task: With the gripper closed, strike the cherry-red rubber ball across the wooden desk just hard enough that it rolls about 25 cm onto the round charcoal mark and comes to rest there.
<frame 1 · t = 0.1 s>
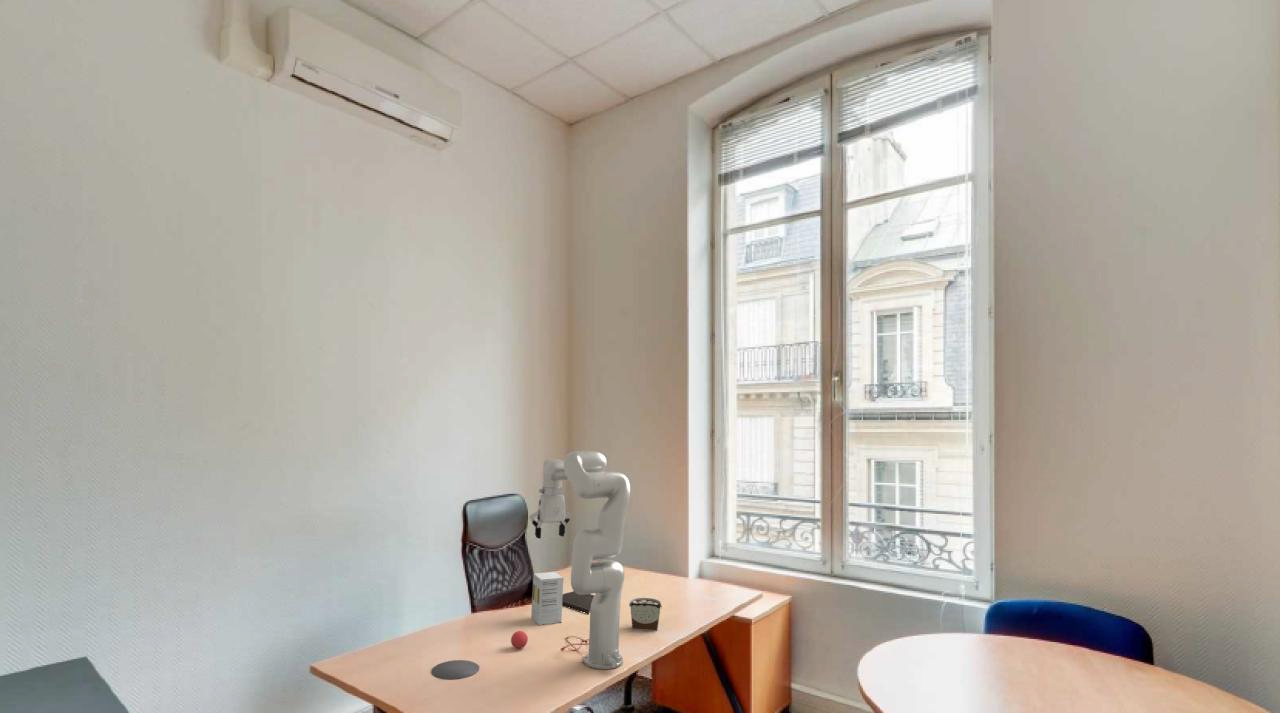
hand: (549, 536, 246), 31 cm above the table, tool pointing down, fingers open, 9 cm apart
supplement box: (546, 621, 243), on the table
hardcover book: (582, 605, 266), on the table
food container: (645, 627, 240), on the table
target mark: (455, 669, 196), on the table
ball: (519, 639, 215), on the table
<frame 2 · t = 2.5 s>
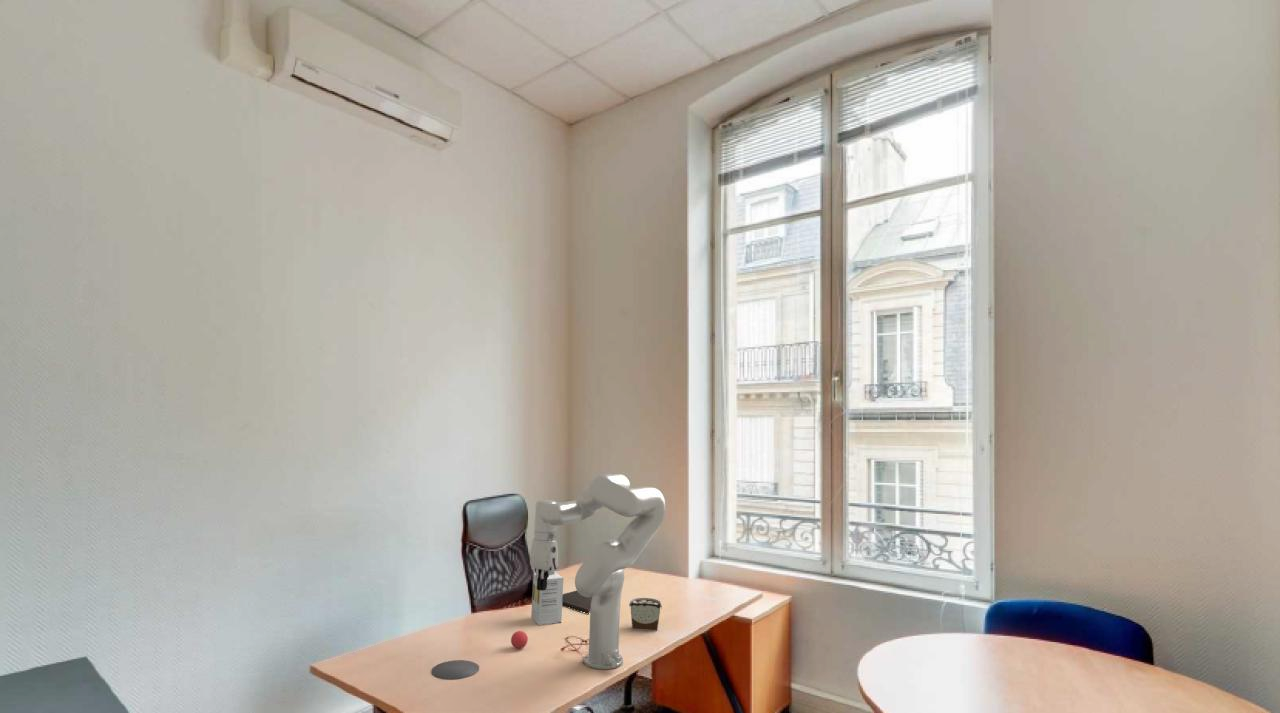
hand: (541, 589, 224), 17 cm above the table, tool pointing down, fingers closed
nothing on the table moved.
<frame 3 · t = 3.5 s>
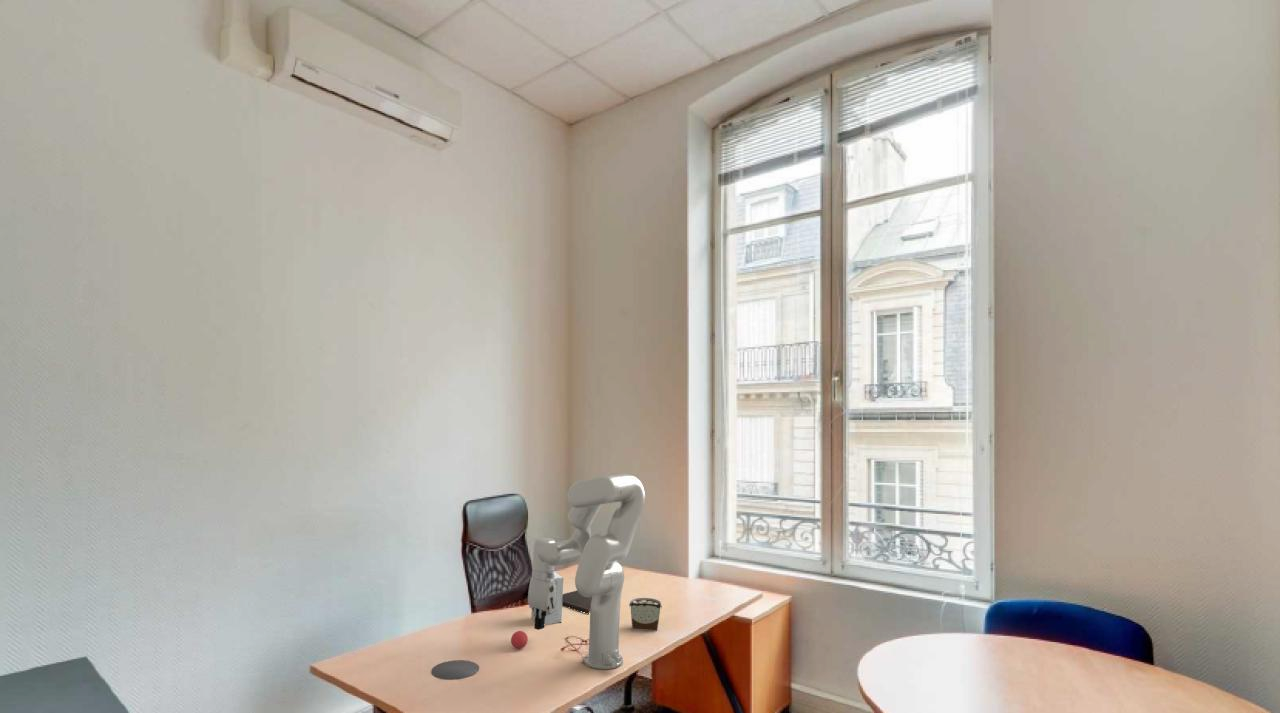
hand: (539, 628, 223), 4 cm above the table, tool pointing down, fingers closed
nothing on the table moved.
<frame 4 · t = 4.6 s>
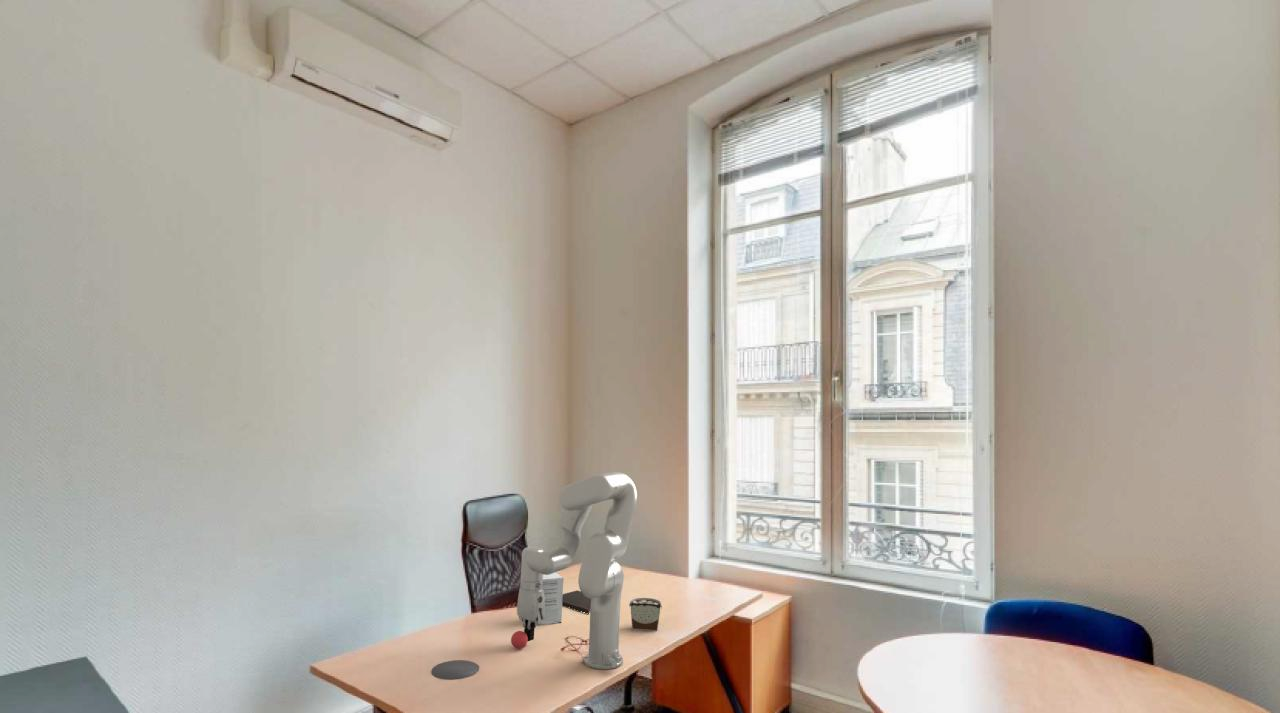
hand: (528, 639, 218), 2 cm above the table, tool pointing down, fingers closed
ball: (519, 639, 215), on the table, touching gripper
everything else where it was.
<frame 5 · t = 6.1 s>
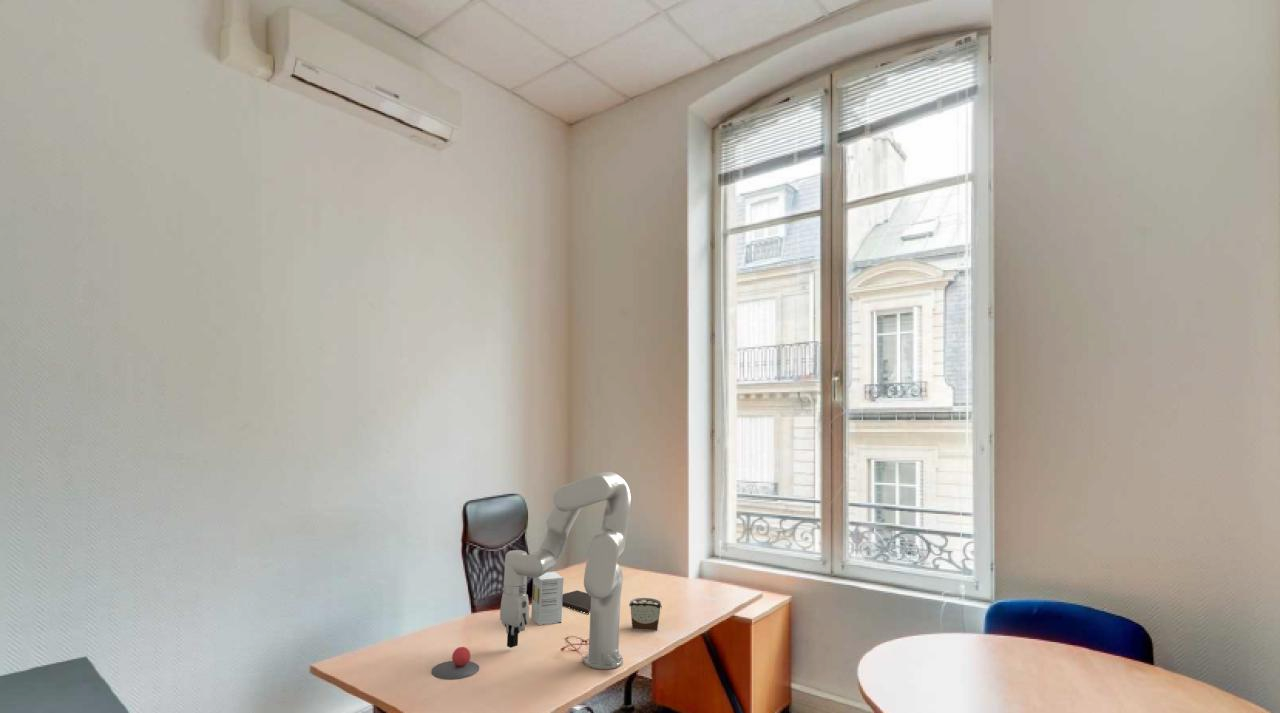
hand: (512, 646, 212), 2 cm above the table, tool pointing down, fingers closed
ball: (461, 656, 199), on the table
everything else where it was.
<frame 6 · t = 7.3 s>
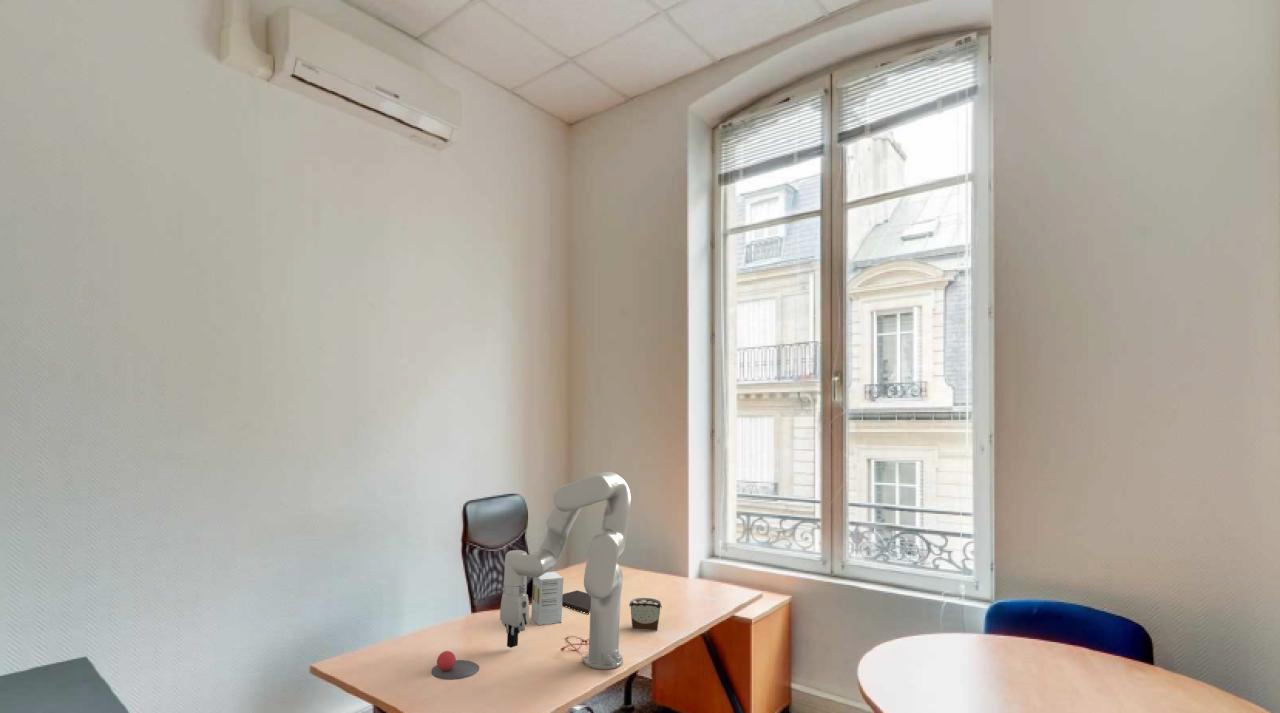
hand: (512, 646, 212), 2 cm above the table, tool pointing down, fingers closed
ball: (446, 660, 195), on the table
everything else where it was.
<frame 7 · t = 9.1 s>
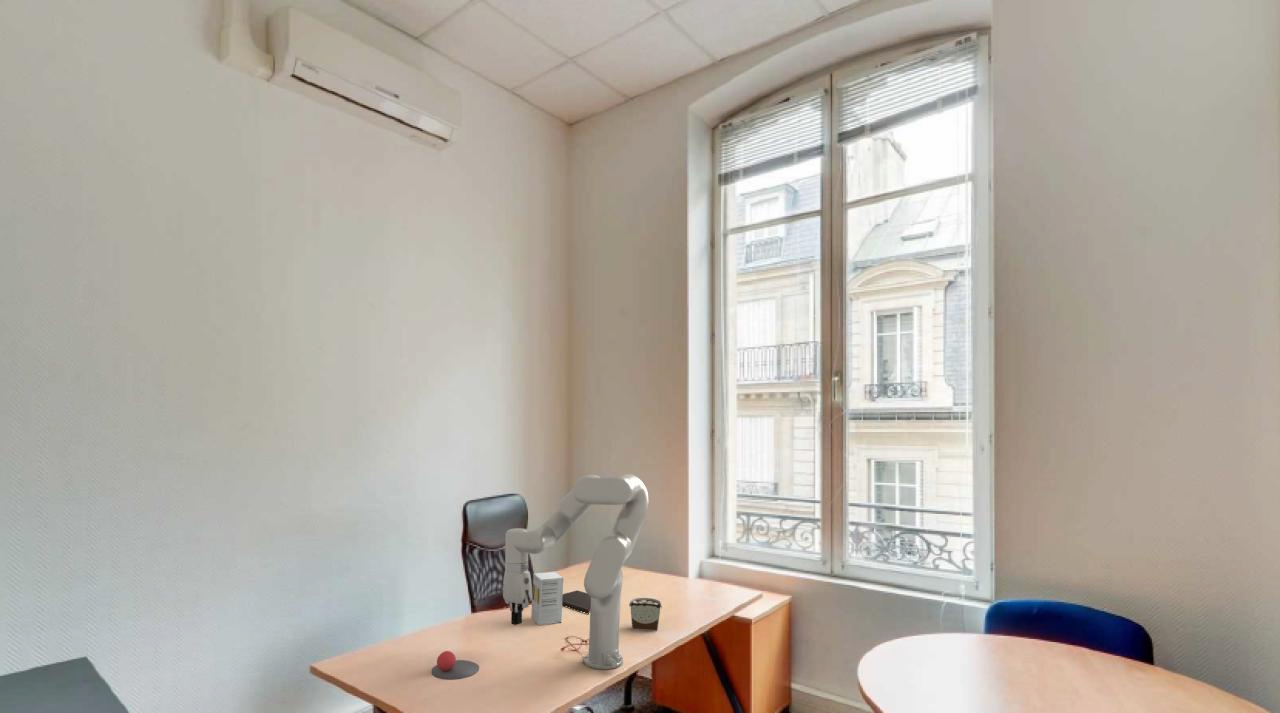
hand: (516, 623, 213), 9 cm above the table, tool pointing down, fingers closed
nothing on the table moved.
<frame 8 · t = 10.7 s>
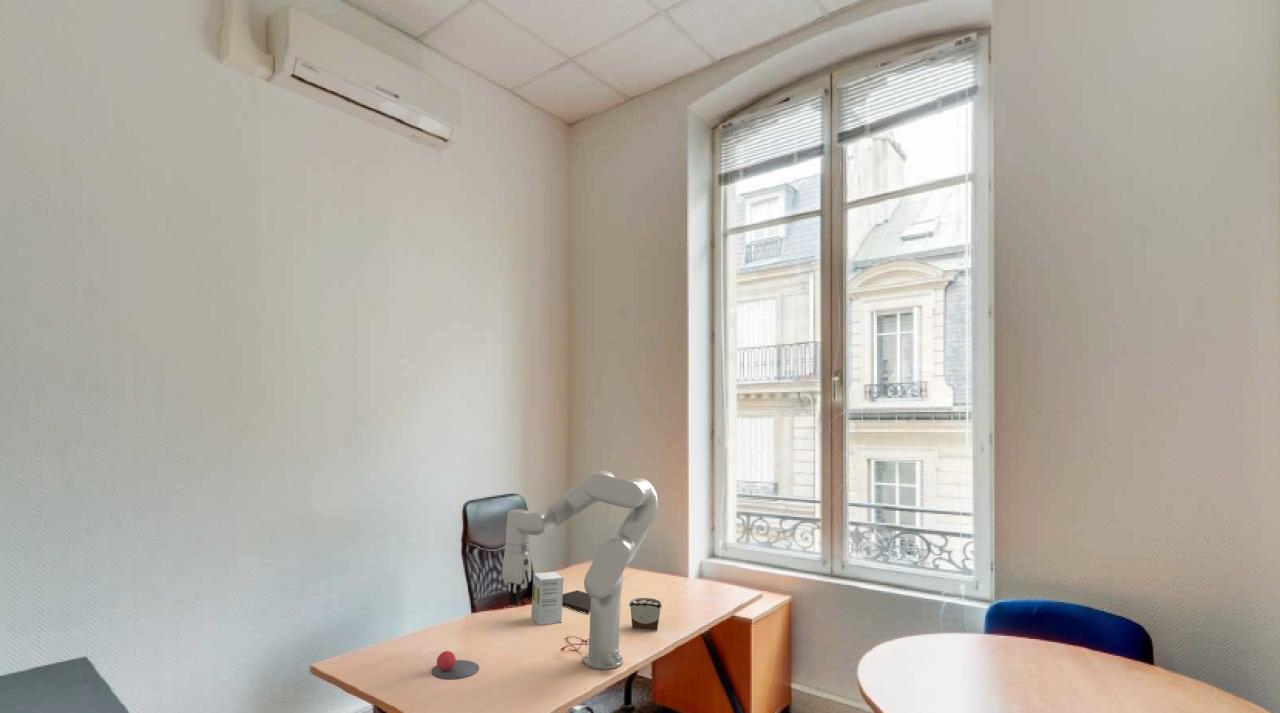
hand: (514, 603, 214), 15 cm above the table, tool pointing down, fingers closed
nothing on the table moved.
at the end: ball 2.9 cm from the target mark (horizontally); ball at rest at the end (0.0 cm/s); ball moved 27.2 cm from its start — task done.
